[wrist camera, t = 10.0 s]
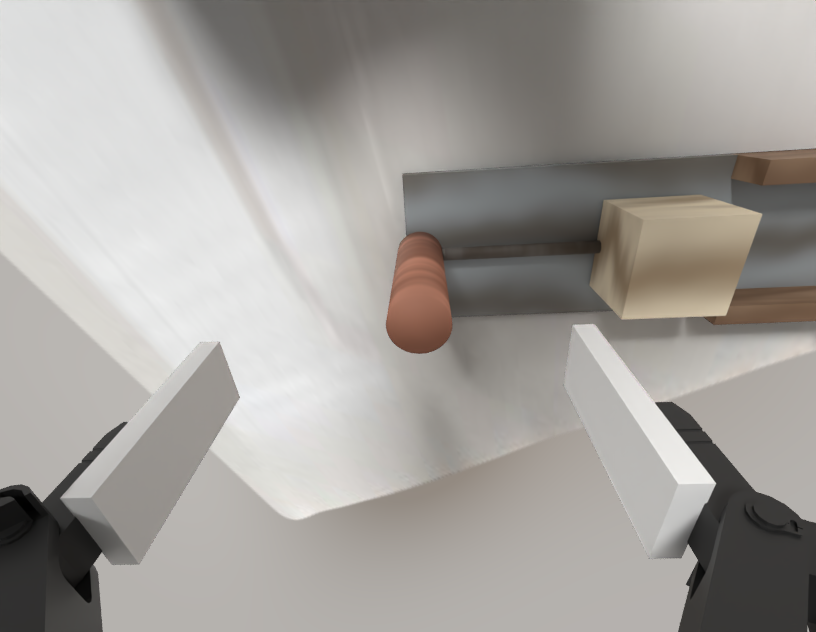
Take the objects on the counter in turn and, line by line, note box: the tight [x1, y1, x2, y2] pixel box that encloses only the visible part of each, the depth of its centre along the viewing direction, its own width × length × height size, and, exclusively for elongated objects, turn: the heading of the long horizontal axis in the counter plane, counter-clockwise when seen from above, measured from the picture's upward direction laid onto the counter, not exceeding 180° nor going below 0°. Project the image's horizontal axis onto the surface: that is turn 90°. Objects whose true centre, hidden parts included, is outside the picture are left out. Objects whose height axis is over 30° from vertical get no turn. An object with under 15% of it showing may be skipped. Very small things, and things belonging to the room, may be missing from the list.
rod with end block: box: [386, 195, 762, 354], centre depth 26 cm, size 7×23×12 cm, turn 94°
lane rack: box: [403, 149, 816, 325], centre depth 30 cm, size 12×37×5 cm, turn 93°
